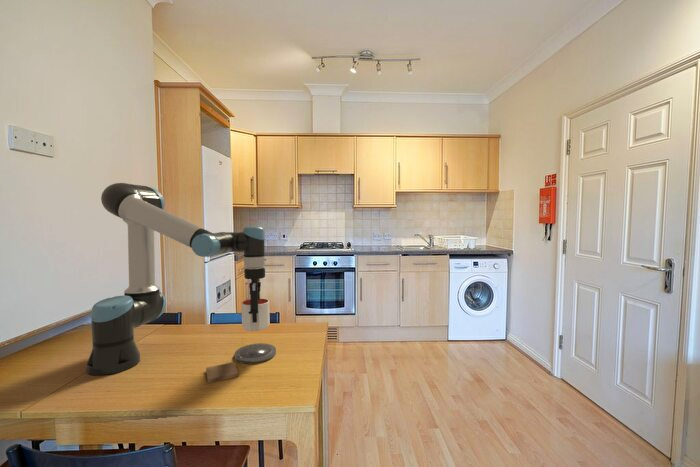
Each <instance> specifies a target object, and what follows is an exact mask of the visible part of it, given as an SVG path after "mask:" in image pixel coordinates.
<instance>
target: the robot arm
mask: <svg viewBox="0 0 700 467" xmlns="http://www.w3.org/2000/svg"><path fill="white" fill-rule="evenodd" d="M100 200H101V204H102V206H103V208H104V209H105V210H106V211H107V212H108V213H110V214H112V215H113V216H116V217H118V218H120V219H122V221H123V222H124V223H125V224H126V225H127V247H128V250H127V252H128V253H127V254H128V255H127V256H128V259H127V260H128V287H127V288H126V289H125V290H124V294H123V295H117V296H115V295H114V296H113V297H107V298H104V299H101V300H99V301H97V302H96V303H94V305H93V306H91V315H90V319H91V336H92V349H91V351H90V354H89V356H88V360H87V361H86V362H87V363H86V373H87V375H91V376H105V375H106V376H107V375H112V374H117V373H120V372H123V371H126V370H129V369H131V368H133V367H135V366H136V365H138V364H139V363H140V361H141V354H140V351H139V349H138V348H139V347H138V346H137V344H136V342H135V339H134V338H135V337H134V336H135V335H134V334H135V333H134V331H135V330H134V329H136V328H138V327H140V326H143V325H145V324H147V323H151V322H153V321H155V320H157V319H158V318H160V317H161V316H162V314H164V312H165V310H166V307H167V300H166V297H165V295H163V294H164V293H162V292H161V291H160V287H159V286H158V285H157V284H156V274H155V273H156V269H155V268H156V265H155V261H156V260H155V232H156V233H159V234H161V235H164V236H165V237H167V238H169V239H172V240H173V241H176V242H178V243H180V244H182V245H184V246H187V247H189V248H191V249H192V251H193V253H194V254H195V255H197V256H199V257H202V258H205V257H206V258H209V257H213V256H217V255H221V254H222V255H223V254H226V253H243V267H244V270H243V271H244V279H245V280H250V282H249V285H248V288H249V295H250V299H249V300H250V312H249V314H251V331H250V332H259V312H258V300H259V299H261V286H262V283H261V281H260V279H264V278H266V268H265V266H266V261H267V258H266V257H265V256H266V254H265V241H266V238H265V229H264V227H262V226H244V227H243V230H242V231H240V232H237V231H236V232H235V231H233V232H229V231H228V232H226V231H222V232H221V231H220V232H211V231H209V230H208V229H205V228H203V227H201V226H198V225H196V224H195V223H192V222H190V221H188V220H185V219H183V218H181V217H179V216H177V215H175V214H173V213H171V212H168V211H166V210H164V209H165V198H164V196H163V195H162V193H161V192H160V191H159V190H158V189H156V188H154V187H149V186H147V185H140V184H132V183H131V184H130V183H125V182H116V183H112V184H109V185H108V186H106V187H105V188H104V190H103V191H102V193H101V196H100ZM253 309H256V310H253Z"/></svg>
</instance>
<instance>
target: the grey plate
mask: <svg viewBox="0 0 700 467" xmlns="http://www.w3.org/2000/svg"><path fill="white" fill-rule="evenodd" d="M276 353H277V348H276V346H274V345H273V344H270V343H263V342H262V343H251V344H246V345H243V346H241V347H239V348H238V349H237V350H235V352H234V360H235V361H236V362H237V363H241V364H246V365H247V364H248V365H252V364H254V365H255V364H259V363H265V362H267V361H270V360H271V359H273V358H274V357H275V356H276V355H277V354H276Z"/></svg>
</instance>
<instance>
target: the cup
mask: <svg viewBox="0 0 700 467" xmlns="http://www.w3.org/2000/svg"><path fill="white" fill-rule="evenodd" d="M253 310H256V309H253ZM249 312H250V299H246V300H244V301H242V302H241V327H242V329H244V330H245V331H247V332H252V331H251V314H249ZM258 312H259V331H263V330H265V329H267V328H269V326H270V321H271V320H270V299H268V298H267V299H266V298H260V299H259V300H258ZM259 331H258V332H259Z"/></svg>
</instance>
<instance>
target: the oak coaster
mask: <svg viewBox="0 0 700 467" xmlns="http://www.w3.org/2000/svg"><path fill="white" fill-rule="evenodd" d="M205 372H206V378H207V384H211V383H215V382H219V381H220V382H221V381H224V380H228V379H229V380H230V379H232V378H238V377H239V372H238V369H237V367H236V364H235V362H228V363H223V364H218V365H212V366H208V367H205Z"/></svg>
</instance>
